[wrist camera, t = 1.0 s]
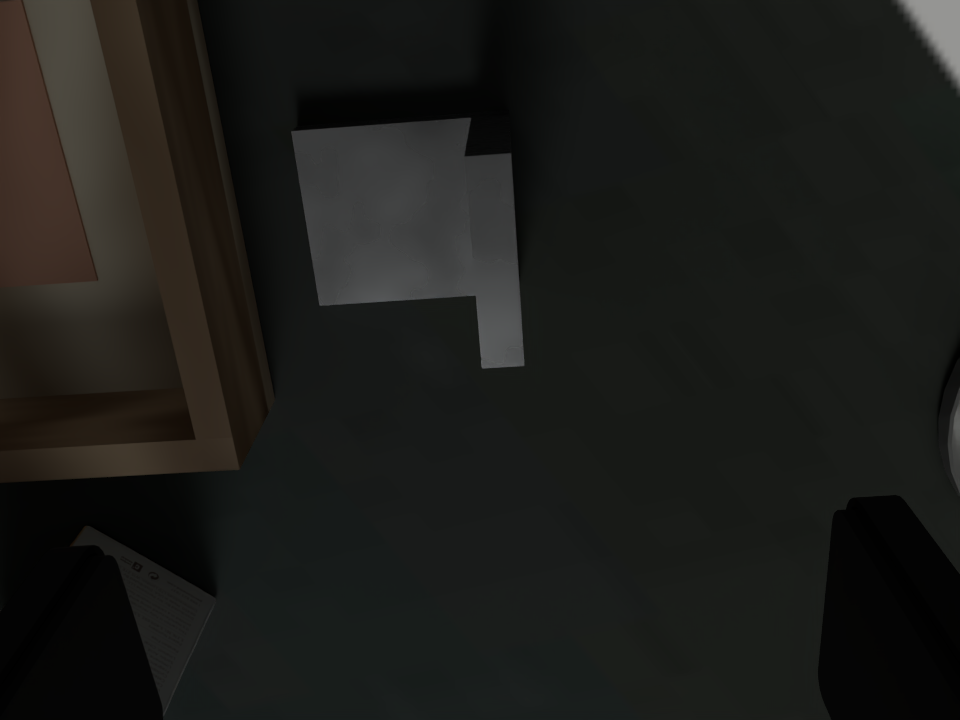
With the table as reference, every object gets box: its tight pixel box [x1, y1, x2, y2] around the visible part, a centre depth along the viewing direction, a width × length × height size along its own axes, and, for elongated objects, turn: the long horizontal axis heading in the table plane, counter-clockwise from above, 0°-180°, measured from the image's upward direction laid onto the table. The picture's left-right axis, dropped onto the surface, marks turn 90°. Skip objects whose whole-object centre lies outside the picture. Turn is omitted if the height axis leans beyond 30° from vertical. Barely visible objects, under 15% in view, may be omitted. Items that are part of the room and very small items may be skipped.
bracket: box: [291, 110, 524, 368], centre depth 27 cm, size 7×6×7 cm
